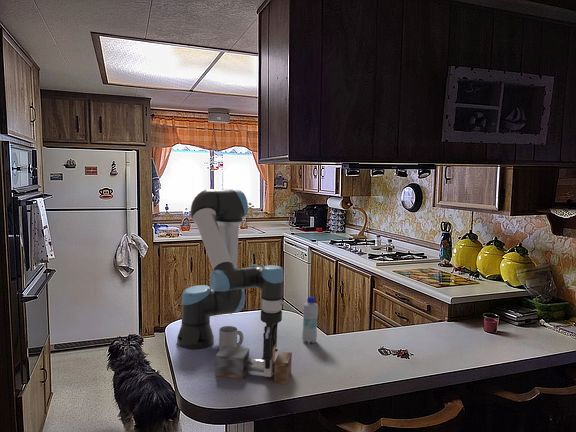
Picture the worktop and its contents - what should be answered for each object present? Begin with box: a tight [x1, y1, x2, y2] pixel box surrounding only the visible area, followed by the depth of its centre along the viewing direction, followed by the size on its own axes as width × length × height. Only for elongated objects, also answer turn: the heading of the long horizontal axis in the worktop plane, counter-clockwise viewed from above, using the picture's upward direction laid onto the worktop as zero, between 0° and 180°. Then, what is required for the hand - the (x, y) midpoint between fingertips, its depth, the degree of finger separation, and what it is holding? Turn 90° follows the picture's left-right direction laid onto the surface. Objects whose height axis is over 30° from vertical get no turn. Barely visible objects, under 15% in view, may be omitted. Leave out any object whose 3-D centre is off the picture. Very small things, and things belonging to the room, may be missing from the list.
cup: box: [218, 325, 244, 352], centre depth 175 cm, size 7×10×9 cm
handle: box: [244, 344, 277, 376], centre depth 155 cm, size 18×5×10 cm, turn 80°
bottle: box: [302, 296, 319, 345], centre depth 187 cm, size 7×7×20 cm
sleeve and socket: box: [214, 346, 293, 385], centre depth 156 cm, size 26×9×8 cm, turn 80°
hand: (269, 372), depth 155 cm, fingers closed on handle, 5 cm apart
